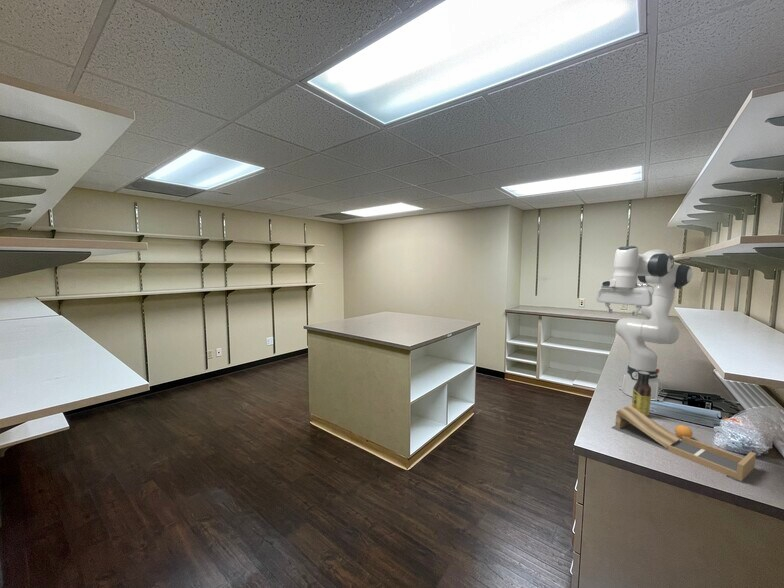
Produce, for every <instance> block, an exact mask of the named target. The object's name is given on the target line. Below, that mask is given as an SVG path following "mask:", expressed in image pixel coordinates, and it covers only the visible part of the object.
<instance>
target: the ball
mask: <svg viewBox="0 0 784 588" xmlns="http://www.w3.org/2000/svg"><path fill="white" fill-rule="evenodd" d="M674 433H675V436H677V437H678V438H680V439H682V436H685V437H687V438H690V439H692V437H693V431H692V429H691V428H690V427H688V426H686V425H684V424H679V425H677V426H676V427H675V428H674Z"/></svg>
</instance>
